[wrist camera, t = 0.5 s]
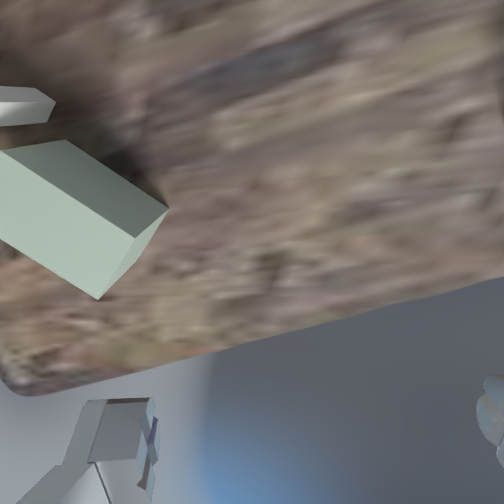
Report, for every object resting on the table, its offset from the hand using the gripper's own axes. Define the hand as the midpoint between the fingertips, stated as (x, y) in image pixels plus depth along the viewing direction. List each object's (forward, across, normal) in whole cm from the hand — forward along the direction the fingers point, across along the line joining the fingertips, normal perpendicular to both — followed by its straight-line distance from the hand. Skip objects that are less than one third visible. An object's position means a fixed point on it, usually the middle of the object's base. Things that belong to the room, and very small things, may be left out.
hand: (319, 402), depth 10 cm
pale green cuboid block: (+46, +20, +14) cm, 53 cm away
